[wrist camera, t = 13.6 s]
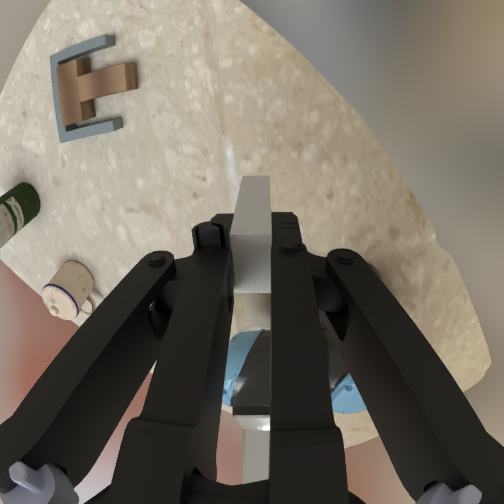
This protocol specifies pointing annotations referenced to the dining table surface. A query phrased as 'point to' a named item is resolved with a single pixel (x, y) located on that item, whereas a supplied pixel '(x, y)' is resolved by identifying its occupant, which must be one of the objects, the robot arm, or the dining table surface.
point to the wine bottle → (17, 210)
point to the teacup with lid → (69, 291)
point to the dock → (58, 59)
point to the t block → (90, 87)
